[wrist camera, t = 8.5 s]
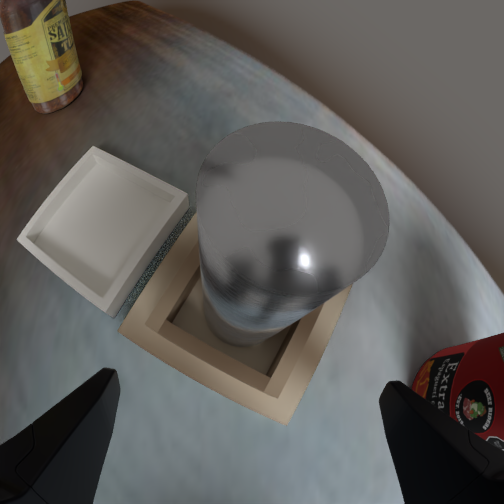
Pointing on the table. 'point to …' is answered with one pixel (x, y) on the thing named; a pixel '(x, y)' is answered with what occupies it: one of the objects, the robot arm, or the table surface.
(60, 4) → the sauce bottle
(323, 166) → the cylinder
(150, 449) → the table surface
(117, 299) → the tray
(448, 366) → the canned food
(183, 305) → the wooden socket base
